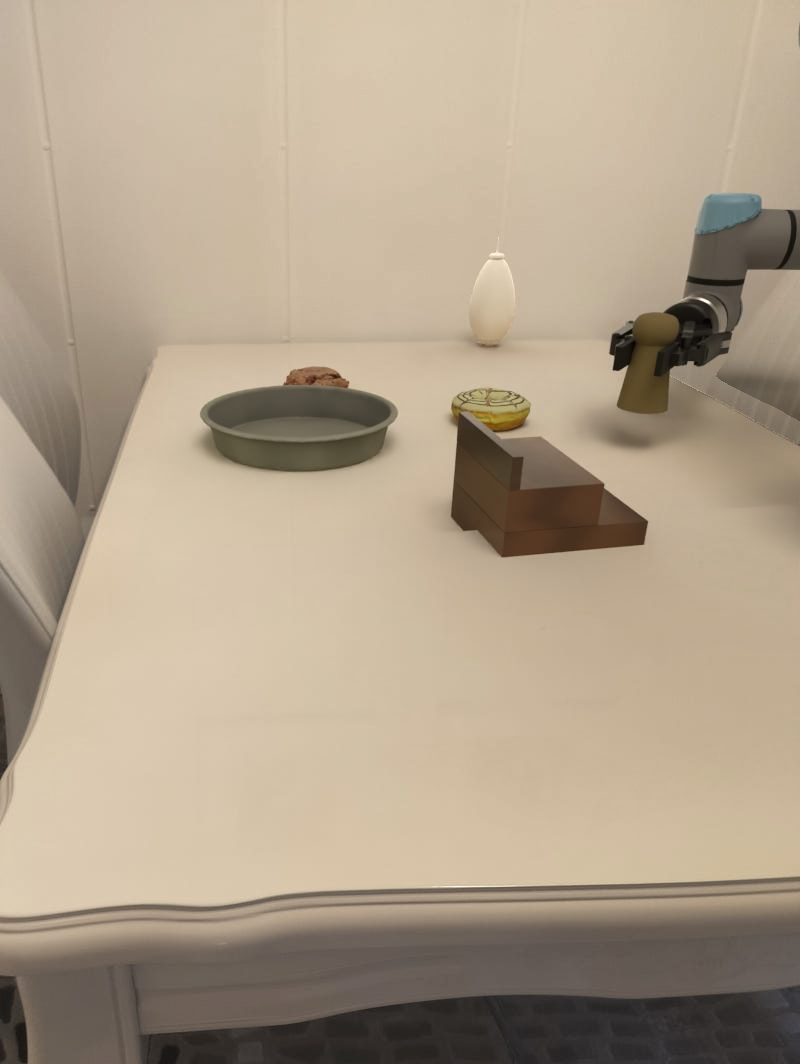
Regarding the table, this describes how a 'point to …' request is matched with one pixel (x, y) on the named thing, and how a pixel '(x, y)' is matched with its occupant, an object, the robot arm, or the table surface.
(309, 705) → the table surface
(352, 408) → the cake pan
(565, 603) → the table surface
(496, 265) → the sauce bottle
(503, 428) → the decorated donut
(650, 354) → the olive tall knobbed cone
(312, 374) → the cookie
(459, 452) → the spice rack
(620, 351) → the robot arm
